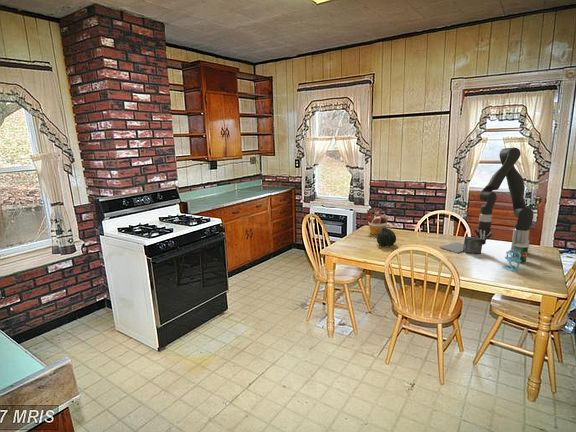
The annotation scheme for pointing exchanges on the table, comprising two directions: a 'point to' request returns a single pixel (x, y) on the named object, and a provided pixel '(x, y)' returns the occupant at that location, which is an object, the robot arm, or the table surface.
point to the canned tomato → (521, 252)
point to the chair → (512, 260)
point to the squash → (386, 237)
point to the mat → (454, 247)
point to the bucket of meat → (376, 222)
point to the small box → (472, 245)
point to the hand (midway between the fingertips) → (482, 244)
